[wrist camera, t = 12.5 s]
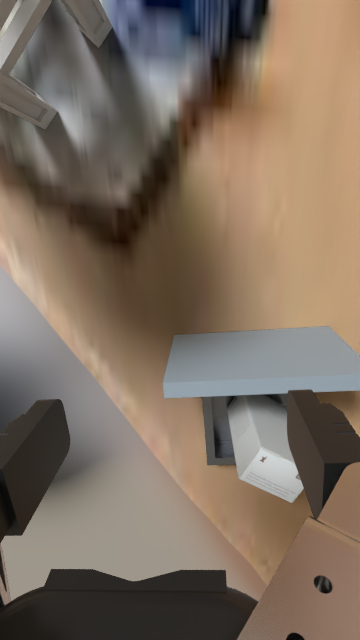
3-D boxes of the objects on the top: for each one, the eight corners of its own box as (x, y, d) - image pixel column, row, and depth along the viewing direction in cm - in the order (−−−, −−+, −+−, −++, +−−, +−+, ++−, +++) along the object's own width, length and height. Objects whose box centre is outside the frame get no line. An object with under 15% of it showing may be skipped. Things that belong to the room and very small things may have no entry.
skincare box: (225, 409, 43) (233, 481, 32) (243, 381, 42) (258, 446, 30) (267, 429, 44) (290, 508, 32) (287, 402, 42) (317, 475, 31)
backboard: (328, 326, 40) (378, 373, 28) (328, 338, 40) (377, 389, 29) (174, 334, 41) (162, 383, 30) (175, 346, 42) (164, 398, 30)
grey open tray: (301, 340, 40) (312, 354, 36) (299, 441, 45) (308, 464, 41) (199, 345, 41) (199, 360, 37) (207, 443, 46) (207, 466, 42)
